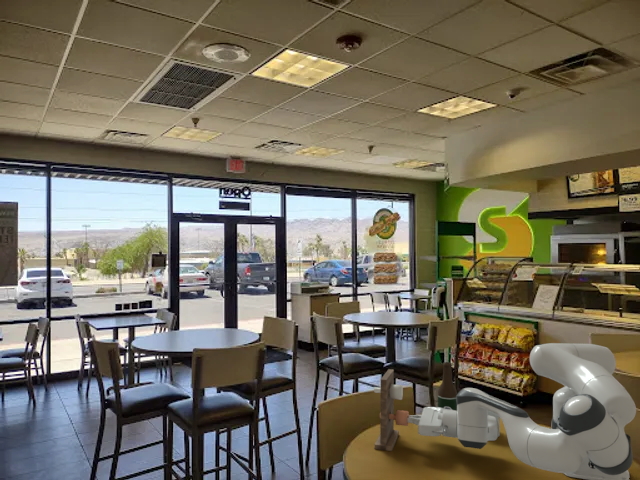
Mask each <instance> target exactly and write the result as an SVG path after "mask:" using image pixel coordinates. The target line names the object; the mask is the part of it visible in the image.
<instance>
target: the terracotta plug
mask: <svg viewBox="0 0 640 480" xmlns="http://www.w3.org/2000/svg"><path fill="white" fill-rule="evenodd" d="M409 415H410V414H409V411H408V410H402V409H401V410H400V409H396V411H395V414H389V419H393V420H394V422H395V425H397V426H404V427H408V425H409V423H408V422H407V418H408V416H409Z"/></svg>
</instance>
